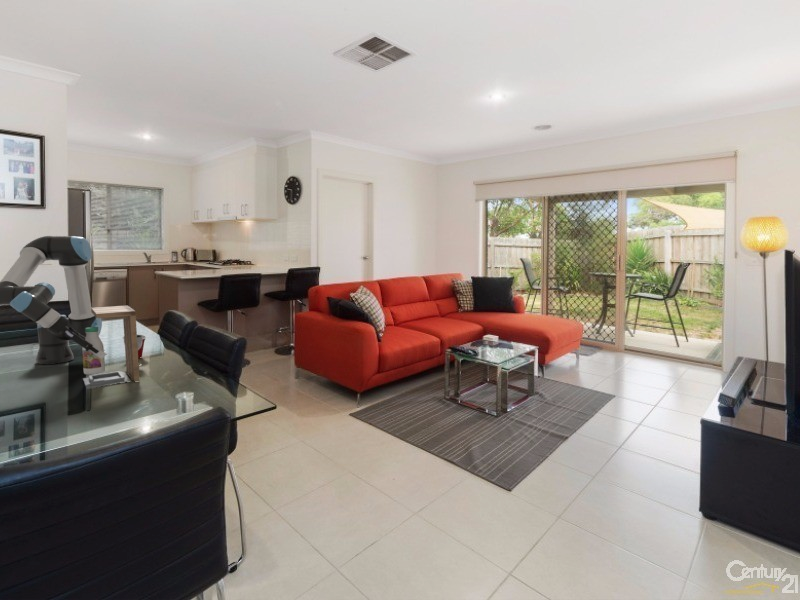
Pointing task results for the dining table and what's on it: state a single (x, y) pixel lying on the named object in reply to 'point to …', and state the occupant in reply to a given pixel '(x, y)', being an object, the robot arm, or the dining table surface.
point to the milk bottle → (90, 360)
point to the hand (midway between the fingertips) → (103, 354)
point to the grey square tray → (105, 379)
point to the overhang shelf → (129, 334)
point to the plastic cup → (141, 347)
